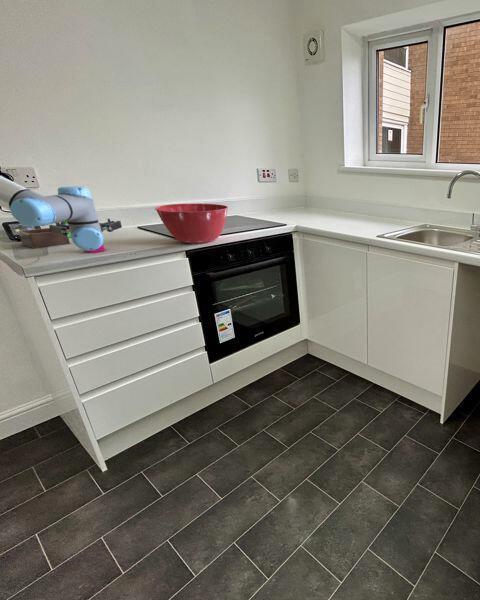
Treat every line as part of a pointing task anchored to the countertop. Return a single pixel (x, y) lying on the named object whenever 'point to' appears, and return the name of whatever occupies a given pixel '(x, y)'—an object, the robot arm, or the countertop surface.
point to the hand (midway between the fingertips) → (87, 223)
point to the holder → (42, 238)
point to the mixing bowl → (194, 221)
